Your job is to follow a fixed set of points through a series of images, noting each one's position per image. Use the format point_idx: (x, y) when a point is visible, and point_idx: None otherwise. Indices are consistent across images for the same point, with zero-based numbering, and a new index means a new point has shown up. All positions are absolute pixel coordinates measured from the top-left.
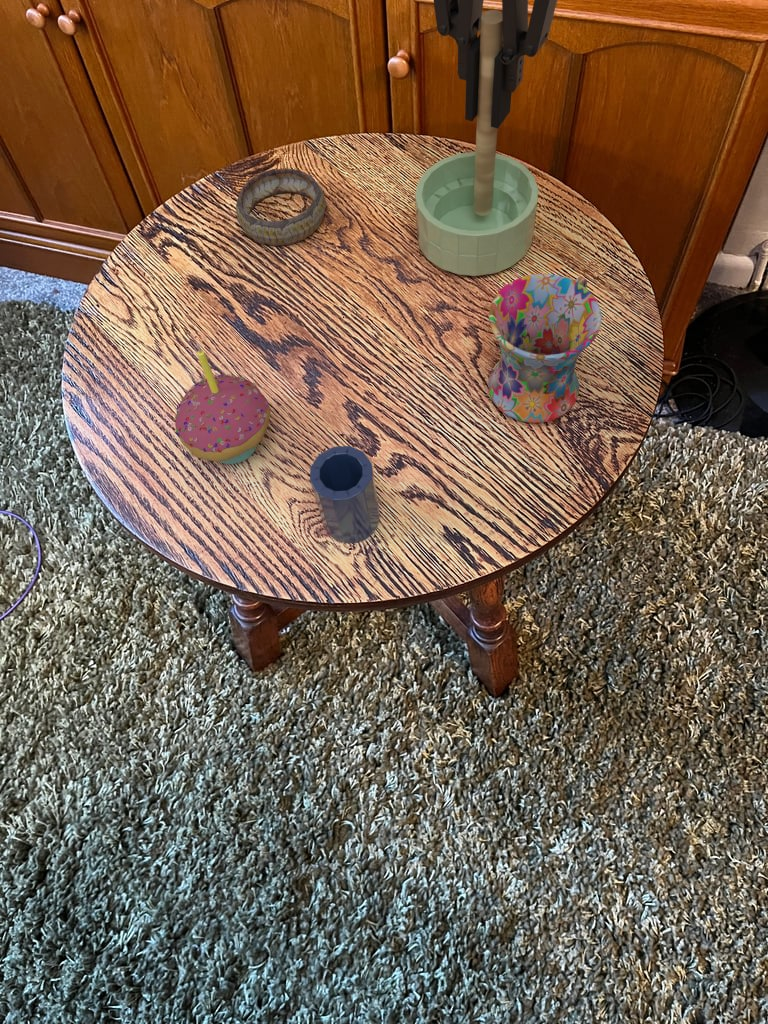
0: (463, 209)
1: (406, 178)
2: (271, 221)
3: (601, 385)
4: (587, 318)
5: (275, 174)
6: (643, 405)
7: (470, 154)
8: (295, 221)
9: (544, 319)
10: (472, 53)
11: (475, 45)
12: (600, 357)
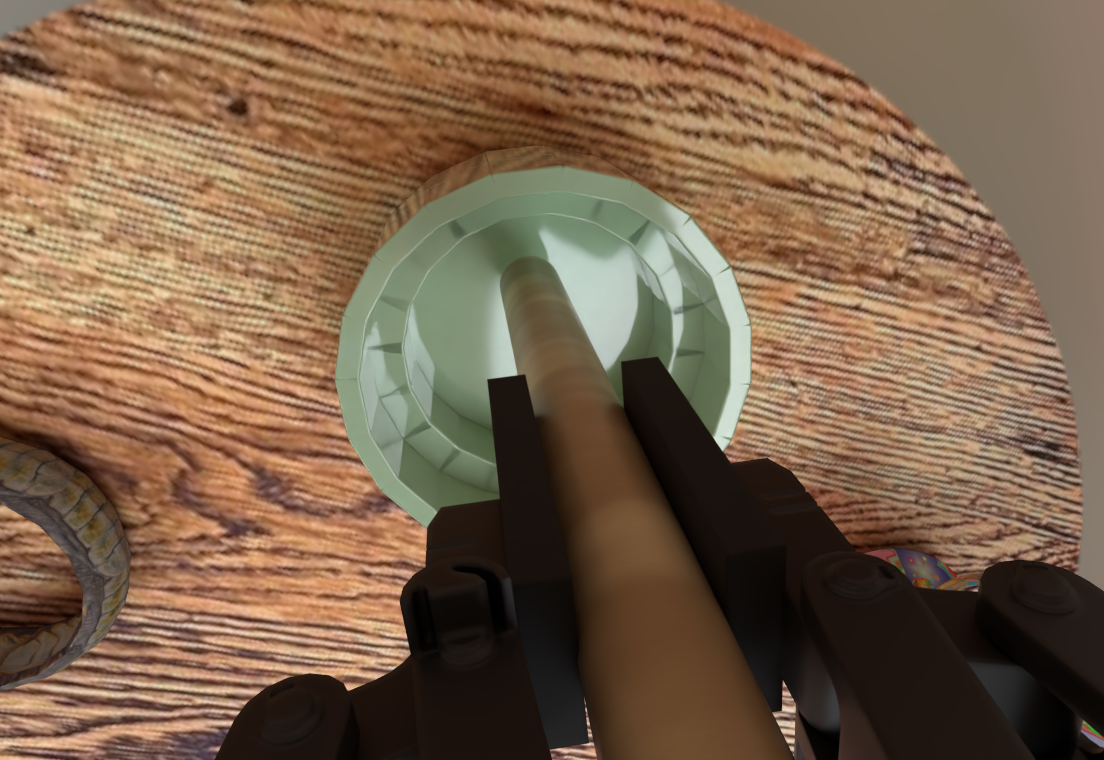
0: (446, 257)
1: (176, 205)
2: (40, 674)
3: (987, 533)
4: (1087, 730)
5: None
6: (1076, 529)
7: (422, 231)
8: (93, 629)
9: None
10: (573, 740)
11: (550, 687)
12: (968, 477)
